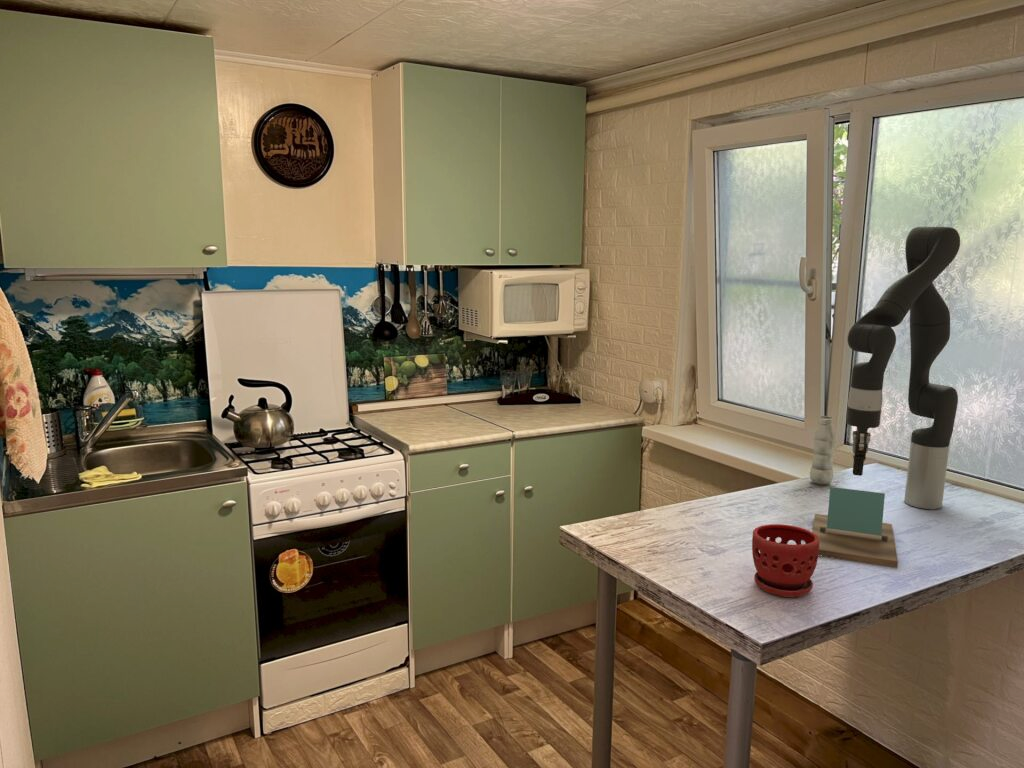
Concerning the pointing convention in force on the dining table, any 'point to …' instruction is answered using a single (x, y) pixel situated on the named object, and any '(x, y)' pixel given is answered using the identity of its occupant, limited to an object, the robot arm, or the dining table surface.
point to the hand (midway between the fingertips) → (857, 474)
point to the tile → (855, 511)
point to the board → (856, 544)
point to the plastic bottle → (823, 452)
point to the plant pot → (784, 559)
